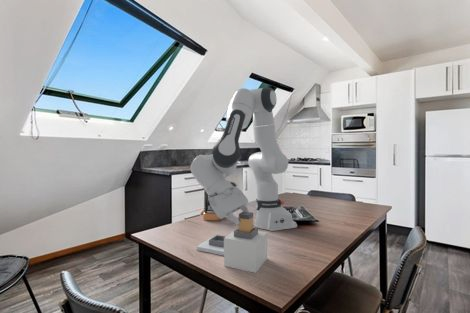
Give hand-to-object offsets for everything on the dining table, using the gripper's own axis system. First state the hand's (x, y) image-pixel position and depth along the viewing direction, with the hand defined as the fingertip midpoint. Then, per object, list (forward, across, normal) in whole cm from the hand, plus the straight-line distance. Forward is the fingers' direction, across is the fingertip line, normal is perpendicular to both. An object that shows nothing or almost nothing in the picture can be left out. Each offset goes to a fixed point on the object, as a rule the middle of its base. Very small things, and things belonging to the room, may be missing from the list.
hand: (244, 219), depth 93 cm
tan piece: (+4, 0, +4) cm, 6 cm away
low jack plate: (0, +9, +22) cm, 23 cm away
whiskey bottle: (-16, +44, +39) cm, 61 cm away
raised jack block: (+12, 0, +10) cm, 16 cm away
